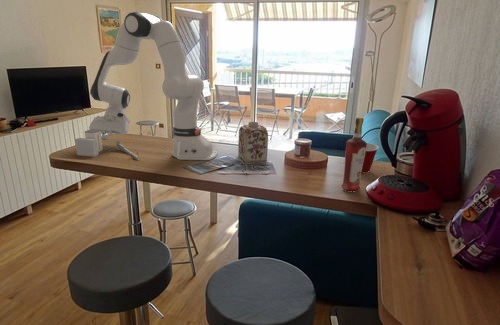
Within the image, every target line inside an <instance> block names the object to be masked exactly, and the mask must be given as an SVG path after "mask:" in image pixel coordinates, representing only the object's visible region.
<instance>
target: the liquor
mask: <svg viewBox="0 0 500 325" xmlns="http://www.w3.org/2000/svg"><path fill="white" fill-rule="evenodd" d="M363 125H364V117H357V116H356V117H355V126H354V132H353V137H352V138H350V139H348V140H346V142H345V153H344V154H345V155H344V166H343V167H344V172H343V182H342V184H341V188H343V190H344V191H345V190H346V192H347V191H352V192H351V193H354V192H353V191H356V192H358V191H359V190H360V189H361V187H360V182H361V176H362V173H361V172H362V167H363V162H364V157H365V152H366V147H367V143H368V142H366V141H365V140H363V139H362V131H363Z"/></svg>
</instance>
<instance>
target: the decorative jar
mask: <svg viewBox="0 0 500 325" xmlns="http://www.w3.org/2000/svg"><path fill="white" fill-rule="evenodd" d="M268 145H269V133H268V129H267V127H266V126H264V125H261V124H259V122H258V121H249V122H248V124H243V125H241V126H240V128H239V129H238V144H237V148H238V149H237V150H238V157H240V158H241V159H242V160H243V162H245V163H247V162H248V163H251V162H262V161H263V162H264V161H267V159H268V148H269V147H268Z"/></svg>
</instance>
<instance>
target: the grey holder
mask: <svg viewBox="0 0 500 325" xmlns="http://www.w3.org/2000/svg"><path fill="white" fill-rule="evenodd" d="M74 141H75V148H76V149H75V150H76V155H77V156H81V157H82V156H83V157H94V158H95V157H98V156H99V155H100V154H102V153H104V152H106V151H108V150H110V149H112V148H114V147H115V145H111V146H109V147H107V148H105V149H104V148H103V150H102V151H100V152H98V147H97V139H88V138H85V137H78V138H77V137H76V138H75V139H74Z"/></svg>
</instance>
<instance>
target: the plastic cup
mask: <svg viewBox="0 0 500 325" xmlns="http://www.w3.org/2000/svg"><path fill="white" fill-rule="evenodd" d="M366 143H367V147H366V152H365V157H364V162H363V167H362V172H368V171H369V172H370V171H371V168H372V166H373V163H374V160H375V157H376V154H377V151H378V150H379V149H380V147H379V145H377V144H375V143H371V142H366ZM369 172H368V173H369Z"/></svg>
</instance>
